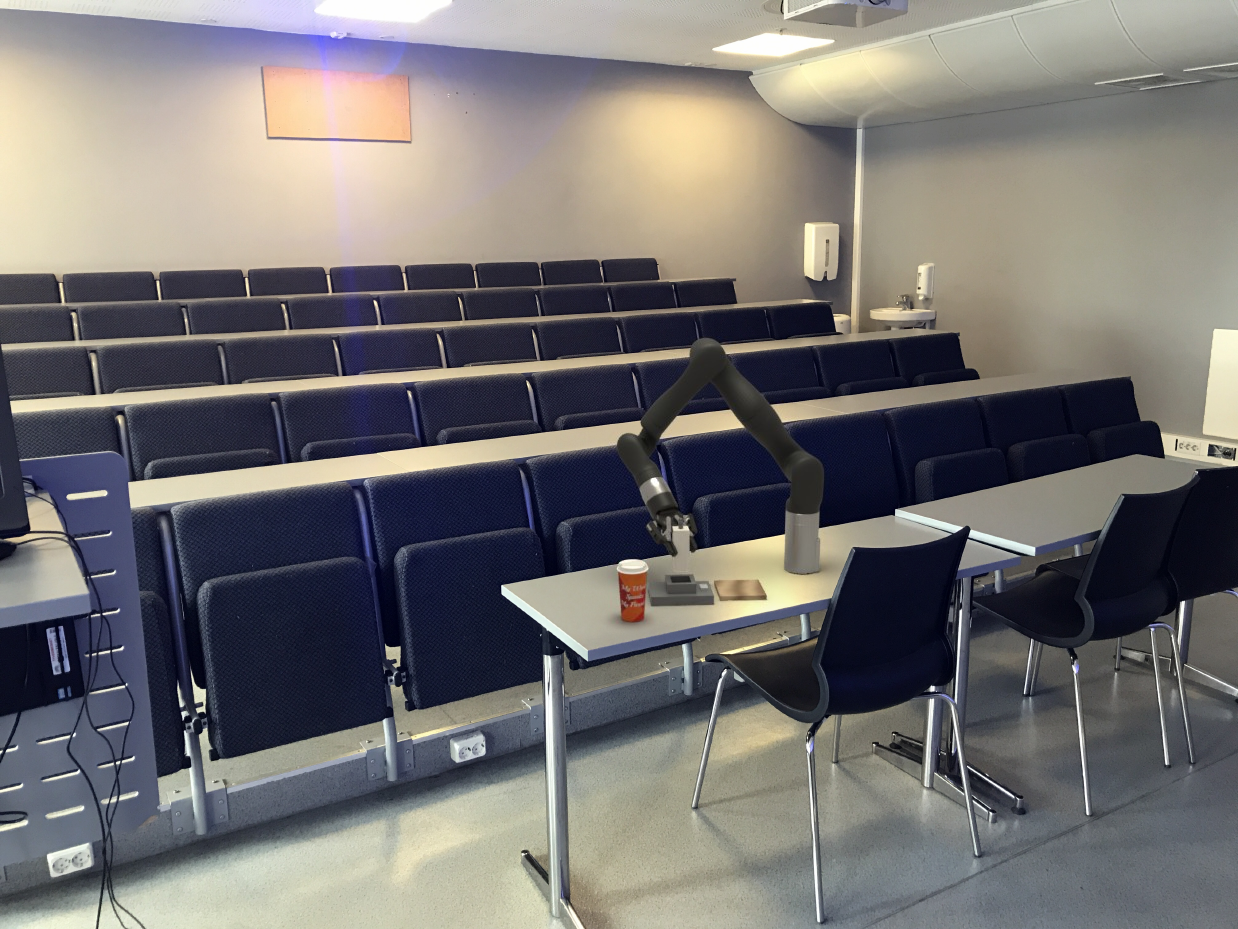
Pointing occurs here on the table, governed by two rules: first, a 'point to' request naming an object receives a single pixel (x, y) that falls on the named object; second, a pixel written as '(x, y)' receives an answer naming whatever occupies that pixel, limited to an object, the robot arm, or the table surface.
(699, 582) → the gray socket base
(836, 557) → the table surface
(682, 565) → the plug
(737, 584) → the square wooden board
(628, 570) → the paper cup
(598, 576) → the table surface
